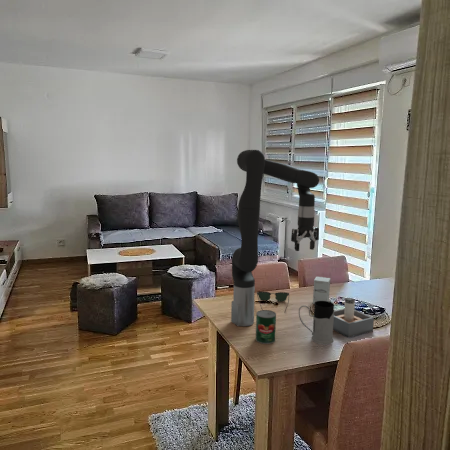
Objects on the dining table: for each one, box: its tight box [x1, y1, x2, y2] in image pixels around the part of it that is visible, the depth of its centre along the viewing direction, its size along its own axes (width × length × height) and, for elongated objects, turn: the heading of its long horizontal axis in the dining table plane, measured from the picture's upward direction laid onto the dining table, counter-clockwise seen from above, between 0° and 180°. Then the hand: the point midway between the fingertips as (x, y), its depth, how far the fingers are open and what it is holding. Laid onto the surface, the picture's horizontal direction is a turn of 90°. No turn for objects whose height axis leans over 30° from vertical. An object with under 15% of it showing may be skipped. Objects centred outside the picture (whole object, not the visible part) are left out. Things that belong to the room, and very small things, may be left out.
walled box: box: [333, 307, 375, 339], centre depth 173 cm, size 14×14×6 cm
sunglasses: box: [256, 291, 290, 314], centre depth 199 cm, size 16×17×5 cm
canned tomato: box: [255, 309, 277, 345], centre depth 161 cm, size 8×8×11 cm
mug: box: [298, 301, 335, 345], centre depth 162 cm, size 9×14×15 cm, turn 81°
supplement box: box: [312, 276, 331, 305], centre depth 204 cm, size 7×7×13 cm
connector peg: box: [343, 297, 356, 322], centre depth 173 cm, size 4×4×12 cm
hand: (304, 250), depth 189 cm, fingers open, 8 cm apart
